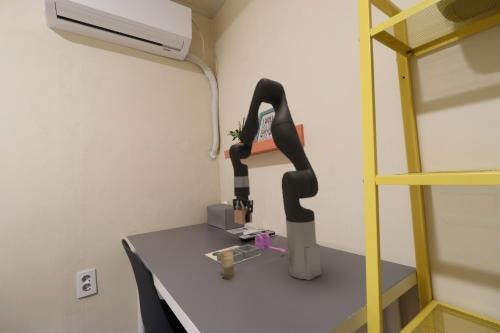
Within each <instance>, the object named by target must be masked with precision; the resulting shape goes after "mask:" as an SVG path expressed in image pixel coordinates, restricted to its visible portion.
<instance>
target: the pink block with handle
mask: <svg viewBox="0 0 500 333" xmlns="http://www.w3.org/2000/svg"><path fill="white" fill-rule="evenodd" d="M254 243H255V244H254V246H255V247H258V248H260V250H264V249H265V247H266V248H270V249H273V250H277V251H279V252H283V253H286V249H284V248H279V247H274V246H272V245H271V238H270V234H269V233H268V232H263V233H262V234H258V235H255V237H254ZM284 256H286V254H282V255H281V257H284Z"/></svg>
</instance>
